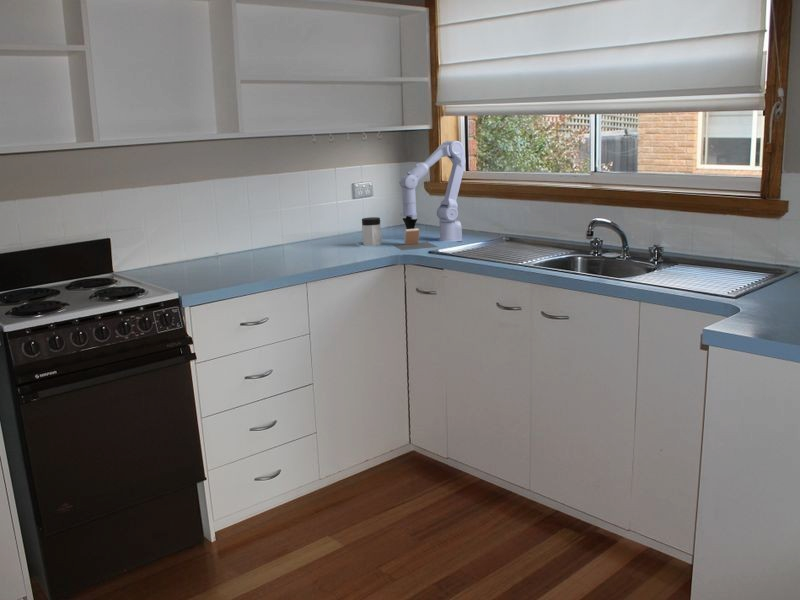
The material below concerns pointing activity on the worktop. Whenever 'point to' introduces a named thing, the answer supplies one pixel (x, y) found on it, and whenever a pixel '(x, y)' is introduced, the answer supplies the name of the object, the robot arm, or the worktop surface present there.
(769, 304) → the worktop surface
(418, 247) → the mat
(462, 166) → the robot arm
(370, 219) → the jar
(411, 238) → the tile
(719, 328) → the worktop surface
